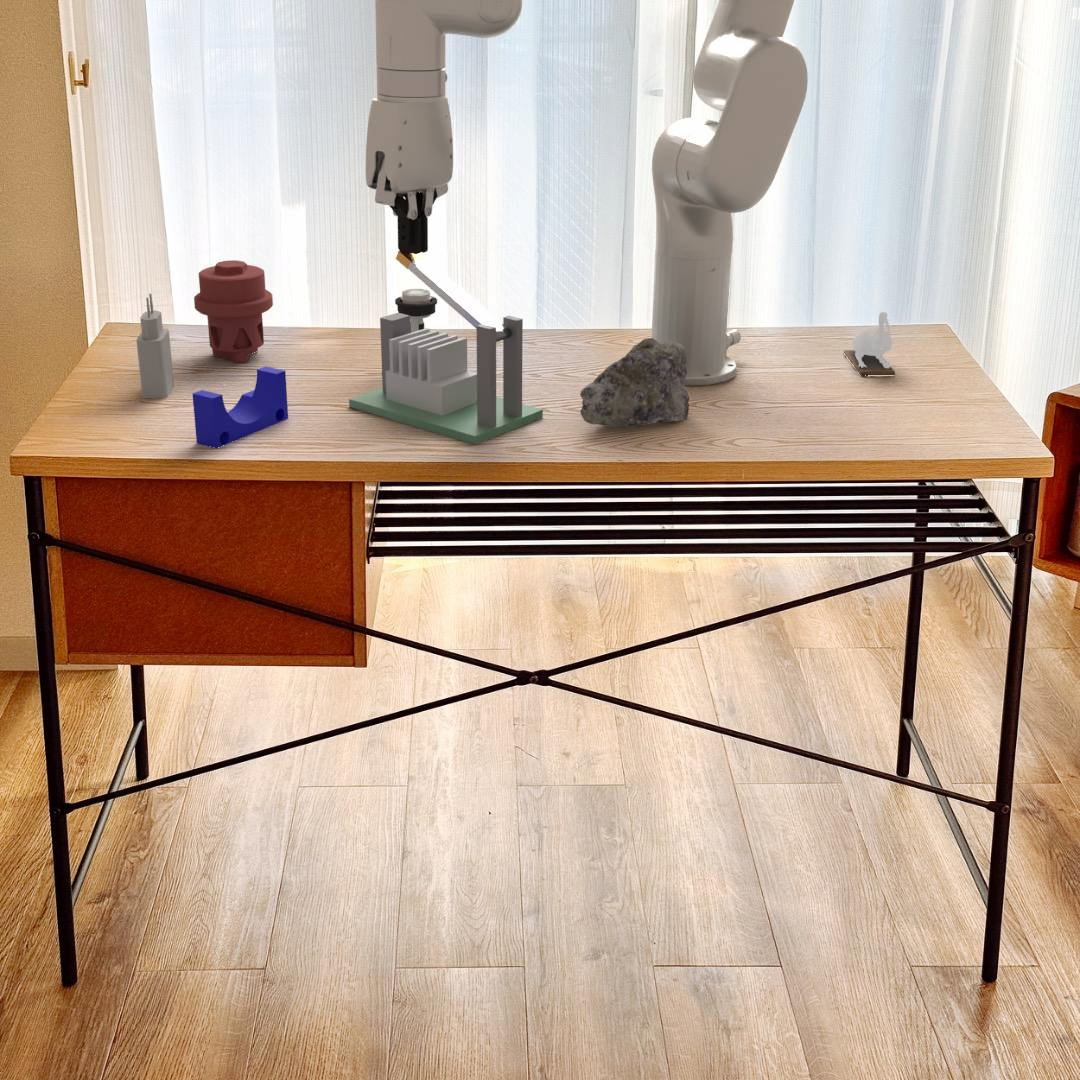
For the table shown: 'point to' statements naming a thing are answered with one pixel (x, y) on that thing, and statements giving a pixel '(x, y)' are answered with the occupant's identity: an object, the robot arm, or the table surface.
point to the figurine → (872, 349)
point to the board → (449, 382)
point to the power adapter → (154, 355)
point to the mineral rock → (640, 387)
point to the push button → (416, 306)
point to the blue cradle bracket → (241, 410)
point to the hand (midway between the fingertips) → (412, 250)
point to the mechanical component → (233, 308)
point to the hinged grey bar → (451, 293)
